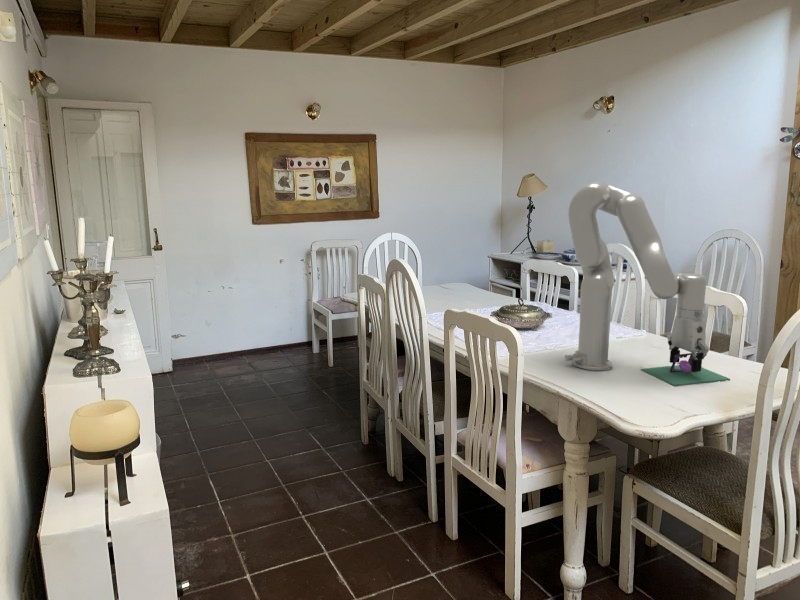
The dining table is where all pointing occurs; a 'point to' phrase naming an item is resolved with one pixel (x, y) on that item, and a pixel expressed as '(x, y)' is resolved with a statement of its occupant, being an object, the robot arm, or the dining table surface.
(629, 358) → the dining table surface
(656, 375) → the mat
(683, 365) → the black open frame
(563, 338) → the dining table surface
